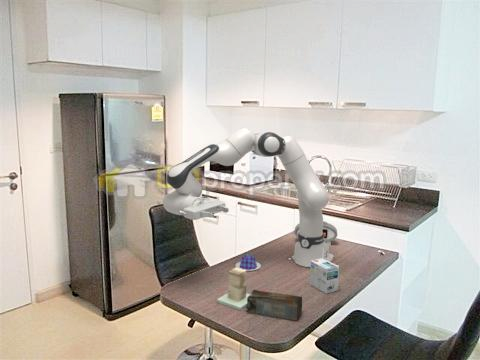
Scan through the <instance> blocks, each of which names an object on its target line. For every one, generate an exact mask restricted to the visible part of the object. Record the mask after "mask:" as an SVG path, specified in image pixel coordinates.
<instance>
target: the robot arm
mask: <svg viewBox="0 0 480 360" xmlns="http://www.w3.org/2000/svg"><path fill="white" fill-rule="evenodd" d="M250 152H252V153H253V154H255V155H257V156H259V157H263V158H267V157H270V158H271V157H275V156H277V157H278V159H280V162H281V164H282V166H283V168H284V169H285V171H286V173H287V175H288V177H289V179H290V180H291V181H292V184H293V185H294V187H295V189H296V190H297V201H298V213H299V223H298V224H299V233H298V237H297V241H296V242H295V243H294V244H295V246H294V253H293V255H291V259H292V260H293V261H294V263H295V264H297V265H298V266H301V267H306V268H311V260H316V259H321V258H323V259H325V260H327V261H329V262H331V263H332V261H333V259H334V254H333V253H330V245H327V244H326V243H325V242H324V237H325V236H326V234H325V233H323V221H324V216H323V211H322V210H323V209H324V208H326V207H327V205H328V204H329V198H330V197H329V195H328V191H327V190H326V189H325V186H324V185H323V183H322V182H321V179H320V178H319V177H318V175H317V173H316V172H315V170H314V169H313V168H312V165H311V163H310V162H309V160H308V158H307V156H306V154H305V153H304V150H303V149H302V147H301V146H300V144H299V143H298V141H297V140H296V139H295V138H294V136H292V135H284V136H282V137H281V136H280V135H278V134H277V133H275V132H271V131H263V132H259V133H254V132H253V131H251V130H250V129H249V128H246V127H242V128H240V129H238V130H236V131H234V132H232V133H231V134H230V135H229V136H228V137H226V138H225V139H224V140H223V141H222V142H219V143H217V144H215V143H214V144H209V145H207V146H205V147H204V148H202V149H200V150H198V151H197V152H196V153H194V154H192V155H191V156H190V157H188V158H186V159H185V160H183V161H182V162H180V163H177V164H176V165H173V166H171V168H169V170H168V171H167V174H166V183H167V184H168V185H169V186H171V188H173V189H174V191H172V192H170V193H167V194H165V195H164V196H163V197H162V198H163V199H162V206H163V208H164V209H165V210H166V212H168V213H171V214H174V215H178V216H183V217H184V218H185V219H189V220H191V221H197V220H200V219H202V218H215V215H216V214H218V213H222V212H223V213H229V212H230V211H229V210H230V209H229V207H226V202H225V201H223V200H219V199H215V198H210V197H209V196H202V197H200V196H201V195H202V191H203V186H202V184H201V183H200V182H199V180H198V179H197V178H196V177H194V175H193V174H192V173H193V172H194V171H195V170H197V169H198V168H200V167H201V166H203V165H204V164H206V163H207V162H215V163H217V164H220V165H222V166H225V167H230V166H234V165H235V164H237V163H239V161H240V160H241V159H242V158H244V157H245V156H246V154H249V153H250Z"/></svg>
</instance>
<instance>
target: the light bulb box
mask: <svg viewBox="0 0 480 360" xmlns="http://www.w3.org/2000/svg"><path fill="white" fill-rule="evenodd" d="M309 268H310V272H309V275H310V276H309V285H311V286H312V287H314V288H316V289H317V290H319V291H320V292H323V293H324V294H330V293H335V292H337V291H339V283H340V280H339V279H340V266H339V265H337V264H335V263H333V262H332V261H331V262H329V261H327V260H325V259H323V258H321V259H316V260H311V267H309Z"/></svg>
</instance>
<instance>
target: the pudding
mask: <svg viewBox="0 0 480 360" xmlns="http://www.w3.org/2000/svg"><path fill="white" fill-rule="evenodd" d="M261 266H262V265H261V264H260V263H259V262H258V261H256V258H255V256H254V255H253V254H244V255H242V256H241V259H240V261H238V262H237V263H235V268H236V267H237V268H240V269H244V270H247V272H248V271H249V272H250V271H255V270H258V269H259V270H260V269H261Z"/></svg>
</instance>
